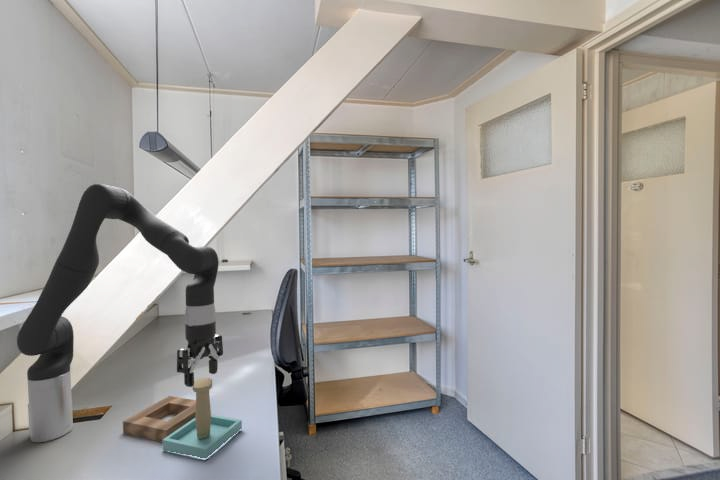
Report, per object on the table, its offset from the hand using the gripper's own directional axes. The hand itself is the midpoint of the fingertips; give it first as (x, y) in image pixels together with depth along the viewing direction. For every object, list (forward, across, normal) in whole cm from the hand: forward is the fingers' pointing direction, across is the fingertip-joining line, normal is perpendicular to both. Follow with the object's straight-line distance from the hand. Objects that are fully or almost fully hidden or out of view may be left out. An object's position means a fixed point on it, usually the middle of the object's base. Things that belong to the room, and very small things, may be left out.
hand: (201, 379), depth 96 cm
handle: (+16, 0, 0) cm, 16 cm away
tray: (+17, 0, 0) cm, 17 cm away
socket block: (+17, -4, -17) cm, 24 cm away
